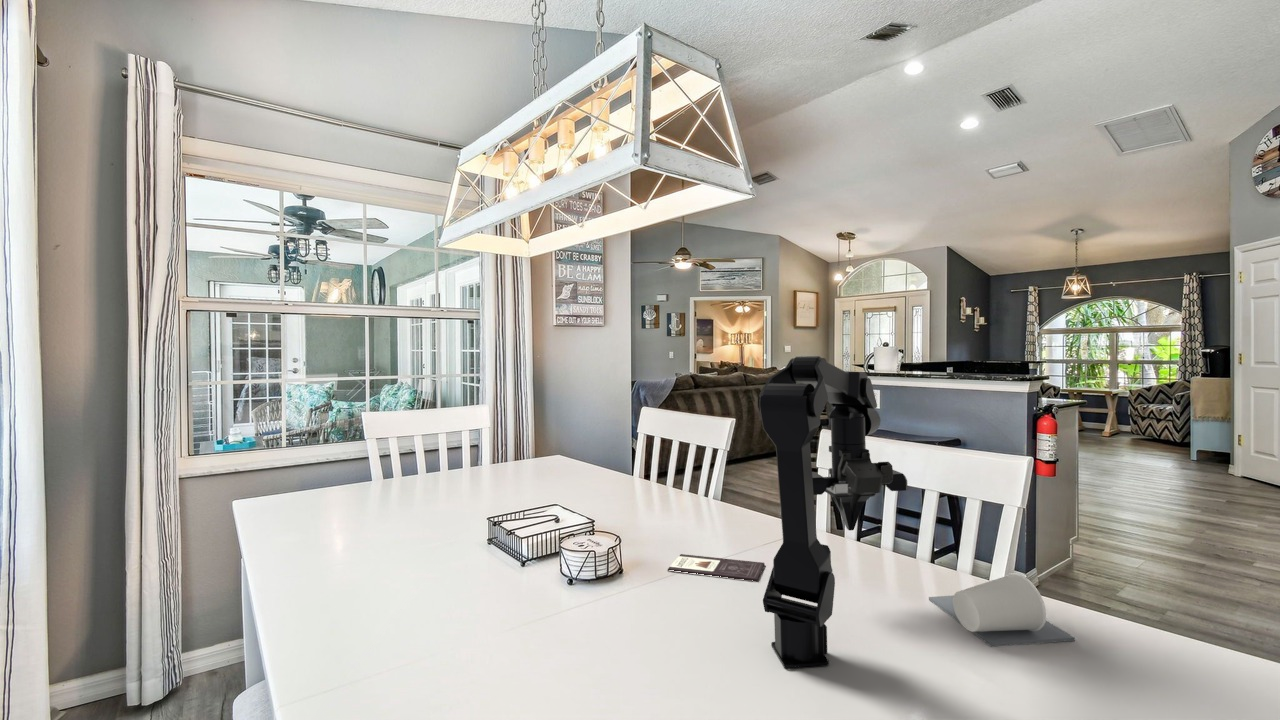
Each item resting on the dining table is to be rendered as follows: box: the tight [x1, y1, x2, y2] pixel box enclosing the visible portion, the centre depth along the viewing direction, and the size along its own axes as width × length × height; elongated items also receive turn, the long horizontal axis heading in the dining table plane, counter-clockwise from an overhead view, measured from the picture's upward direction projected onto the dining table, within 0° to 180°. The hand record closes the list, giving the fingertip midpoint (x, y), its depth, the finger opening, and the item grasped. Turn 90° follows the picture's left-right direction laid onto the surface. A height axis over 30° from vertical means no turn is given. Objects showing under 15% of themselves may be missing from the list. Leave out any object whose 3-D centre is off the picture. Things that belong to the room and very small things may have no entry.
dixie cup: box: [953, 572, 1047, 633], centre depth 88 cm, size 8×8×10 cm
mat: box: [928, 594, 1076, 647], centre depth 93 cm, size 13×16×1 cm
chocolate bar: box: [667, 553, 765, 582], centre depth 118 cm, size 9×1×18 cm
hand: (850, 529), depth 102 cm, fingers closed
